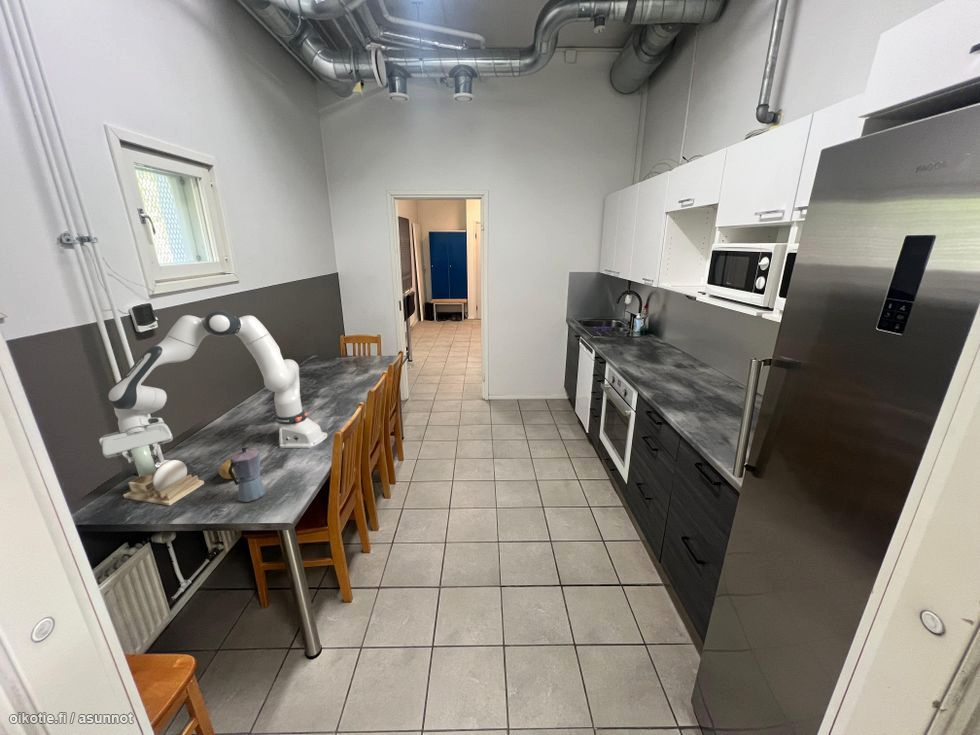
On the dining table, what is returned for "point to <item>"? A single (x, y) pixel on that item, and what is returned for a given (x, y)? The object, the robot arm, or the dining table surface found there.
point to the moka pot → (247, 474)
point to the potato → (226, 470)
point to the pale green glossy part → (143, 460)
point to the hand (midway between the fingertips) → (143, 459)
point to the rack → (164, 484)
